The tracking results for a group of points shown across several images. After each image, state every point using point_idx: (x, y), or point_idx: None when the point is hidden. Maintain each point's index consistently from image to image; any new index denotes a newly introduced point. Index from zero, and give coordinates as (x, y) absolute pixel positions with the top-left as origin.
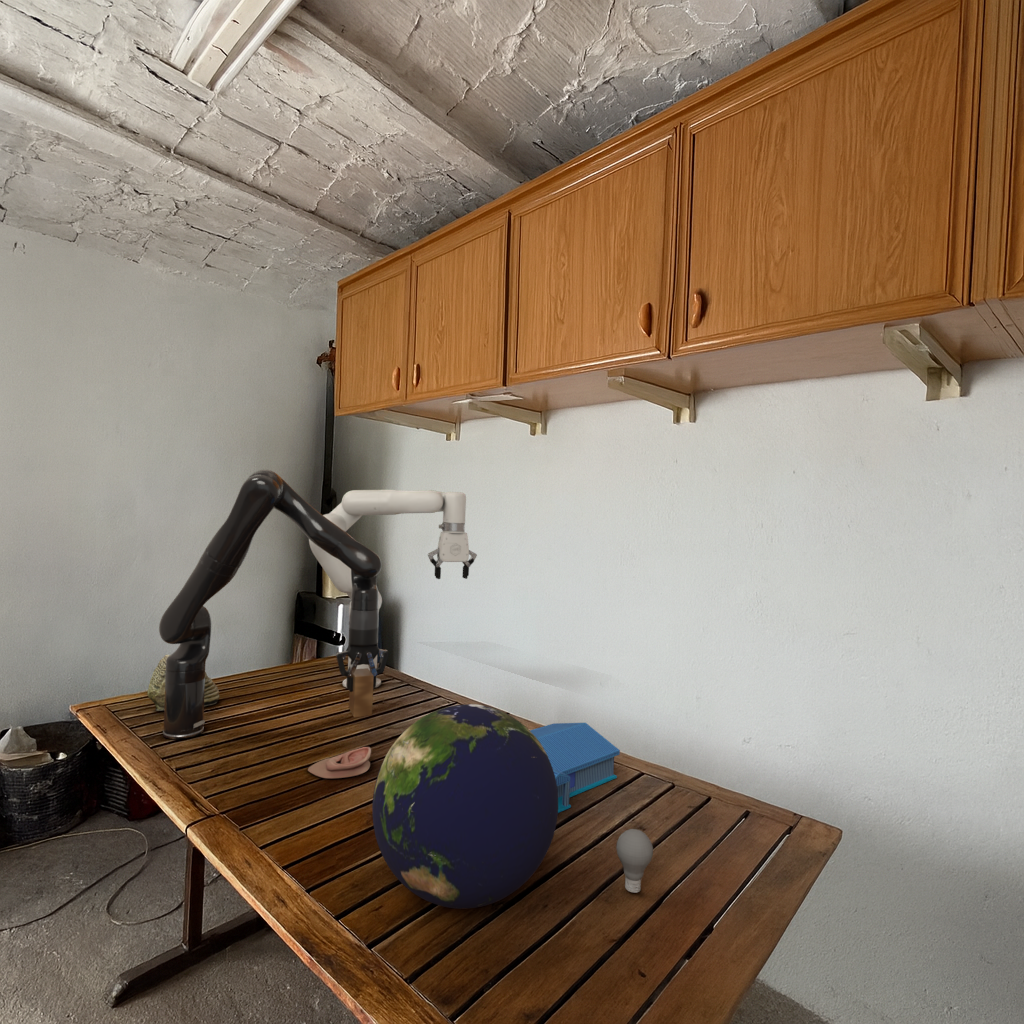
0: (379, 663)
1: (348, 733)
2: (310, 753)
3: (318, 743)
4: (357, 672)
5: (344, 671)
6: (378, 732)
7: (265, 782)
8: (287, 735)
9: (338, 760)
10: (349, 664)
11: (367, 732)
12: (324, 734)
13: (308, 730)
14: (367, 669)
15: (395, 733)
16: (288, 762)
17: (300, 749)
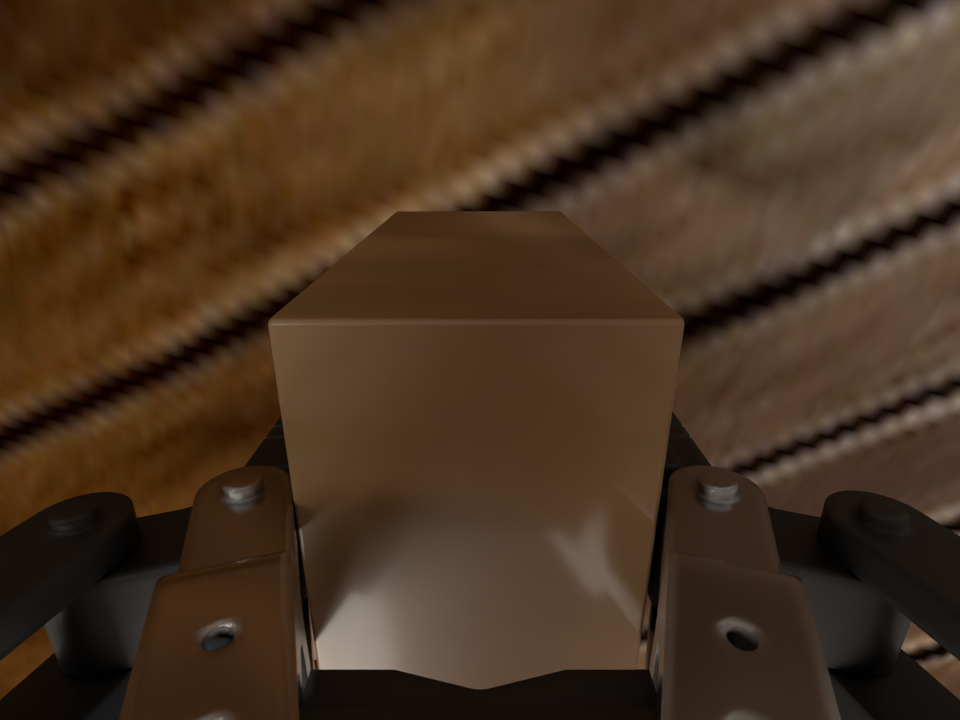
0: (954, 650)
1: (426, 181)
2: (200, 416)
3: (236, 294)
4: (396, 567)
5: (110, 705)
6: (616, 223)
7: (44, 628)
8: (21, 90)
9: (314, 659)
10: (157, 586)
11: (548, 201)
12: (270, 150)
13: (155, 28)
14: (641, 417)
15: (710, 272)
16: (103, 485)
17: (141, 350)
